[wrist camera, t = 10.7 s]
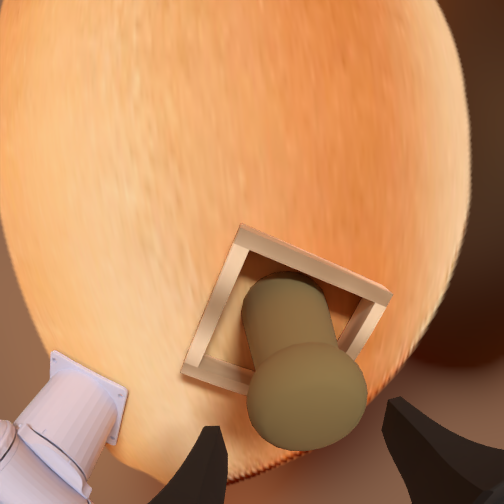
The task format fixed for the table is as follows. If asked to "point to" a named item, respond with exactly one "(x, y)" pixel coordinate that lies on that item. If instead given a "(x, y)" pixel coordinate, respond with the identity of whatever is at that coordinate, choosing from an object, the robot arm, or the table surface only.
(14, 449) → the robot arm
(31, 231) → the table surface
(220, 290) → the open square wooden box
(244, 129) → the table surface
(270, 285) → the cork
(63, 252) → the table surface
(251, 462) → the table surface
